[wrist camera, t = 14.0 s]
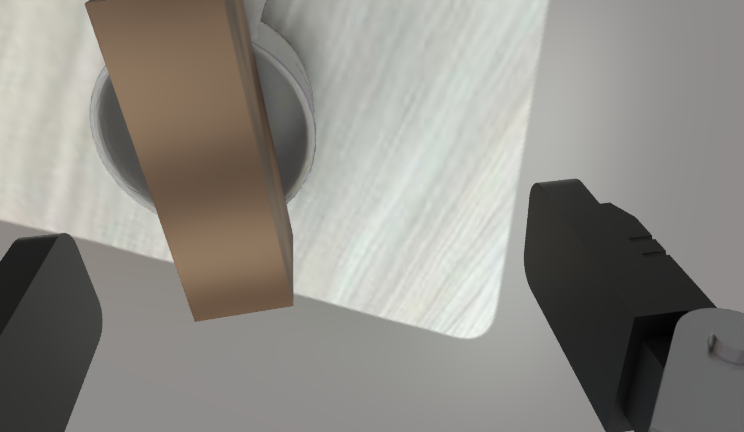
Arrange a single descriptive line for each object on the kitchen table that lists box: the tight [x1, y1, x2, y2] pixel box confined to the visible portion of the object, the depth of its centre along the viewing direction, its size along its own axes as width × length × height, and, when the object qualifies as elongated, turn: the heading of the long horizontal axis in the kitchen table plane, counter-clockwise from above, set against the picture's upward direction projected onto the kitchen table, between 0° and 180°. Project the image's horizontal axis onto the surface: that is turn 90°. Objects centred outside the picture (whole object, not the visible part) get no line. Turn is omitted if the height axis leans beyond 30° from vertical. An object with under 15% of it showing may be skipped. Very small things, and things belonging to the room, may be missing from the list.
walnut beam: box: [85, 0, 293, 322], centre depth 26 cm, size 14×4×6 cm, turn 7°
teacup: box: [90, 0, 316, 214], centre depth 32 cm, size 14×11×8 cm
